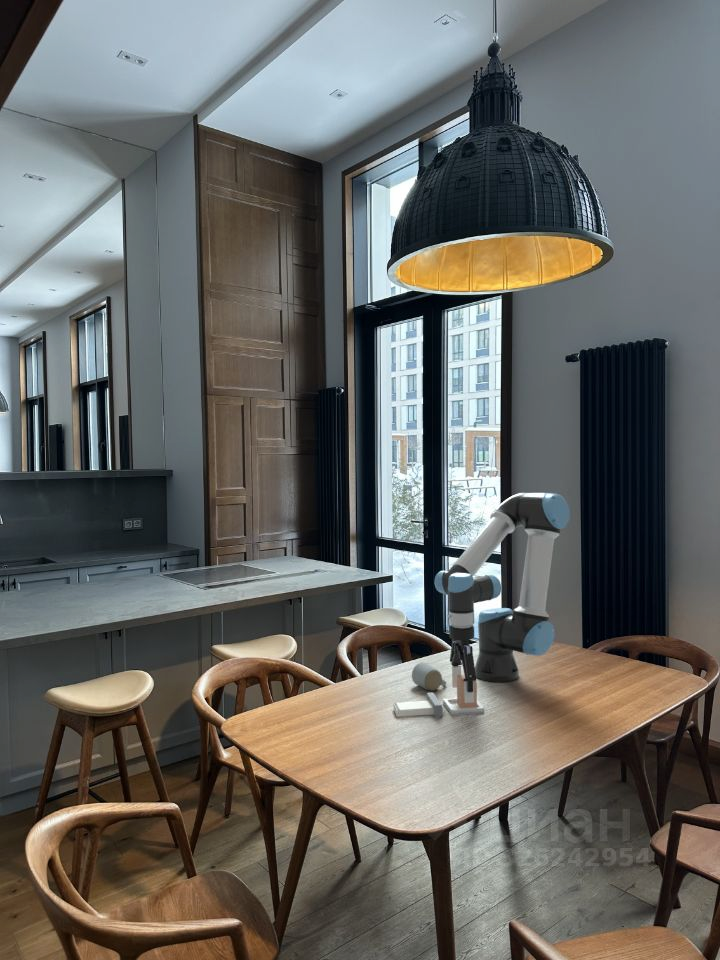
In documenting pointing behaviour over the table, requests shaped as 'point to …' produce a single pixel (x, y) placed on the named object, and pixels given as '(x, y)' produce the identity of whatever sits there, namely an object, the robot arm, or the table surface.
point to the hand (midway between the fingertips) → (463, 694)
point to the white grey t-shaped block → (420, 707)
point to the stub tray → (456, 710)
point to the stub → (461, 693)
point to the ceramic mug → (427, 677)
